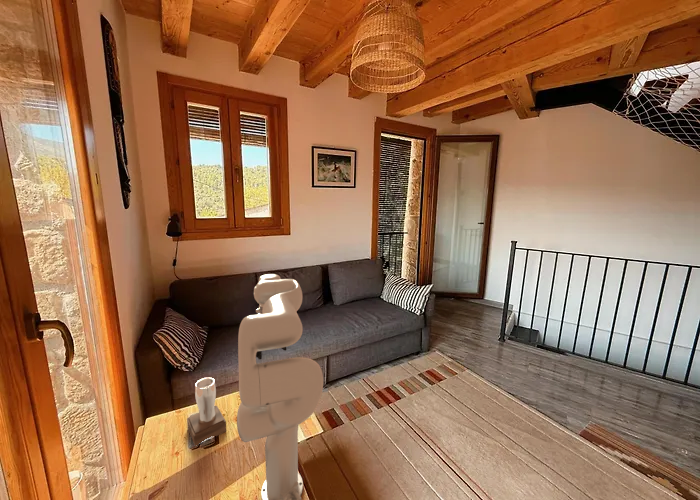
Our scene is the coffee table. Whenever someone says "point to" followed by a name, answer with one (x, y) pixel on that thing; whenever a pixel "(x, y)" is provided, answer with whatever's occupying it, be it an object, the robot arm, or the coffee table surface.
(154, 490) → the coffee table surface
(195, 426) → the plinth
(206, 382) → the beer glass
